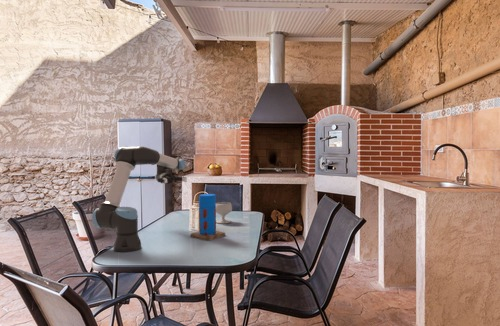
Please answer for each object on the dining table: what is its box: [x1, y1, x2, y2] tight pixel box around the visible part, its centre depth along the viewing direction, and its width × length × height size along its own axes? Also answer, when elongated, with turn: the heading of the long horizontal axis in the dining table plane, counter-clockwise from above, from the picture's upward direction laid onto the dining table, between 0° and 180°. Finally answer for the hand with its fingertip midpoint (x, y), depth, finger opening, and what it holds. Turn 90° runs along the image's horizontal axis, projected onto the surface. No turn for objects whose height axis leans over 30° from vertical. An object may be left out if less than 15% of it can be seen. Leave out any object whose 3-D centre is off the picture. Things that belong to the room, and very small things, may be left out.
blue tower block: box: [198, 193, 217, 235], centre depth 226 cm, size 11×11×25 cm
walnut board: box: [189, 230, 226, 241], centre depth 227 cm, size 16×16×2 cm
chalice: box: [216, 201, 233, 224], centre depth 271 cm, size 14×14×15 cm
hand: (176, 180), depth 233 cm, fingers open, 13 cm apart
